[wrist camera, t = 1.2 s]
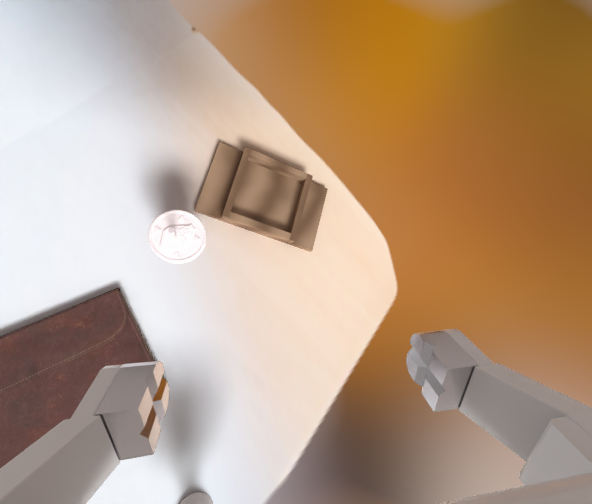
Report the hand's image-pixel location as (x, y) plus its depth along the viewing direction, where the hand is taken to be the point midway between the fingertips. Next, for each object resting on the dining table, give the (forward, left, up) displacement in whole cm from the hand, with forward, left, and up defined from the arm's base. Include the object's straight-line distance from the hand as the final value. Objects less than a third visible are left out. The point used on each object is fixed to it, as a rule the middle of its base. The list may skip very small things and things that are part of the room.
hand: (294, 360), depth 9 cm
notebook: (-15, -13, -36) cm, 41 cm away
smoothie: (-7, +7, -35) cm, 37 cm away
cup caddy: (+3, +19, -35) cm, 40 cm away
